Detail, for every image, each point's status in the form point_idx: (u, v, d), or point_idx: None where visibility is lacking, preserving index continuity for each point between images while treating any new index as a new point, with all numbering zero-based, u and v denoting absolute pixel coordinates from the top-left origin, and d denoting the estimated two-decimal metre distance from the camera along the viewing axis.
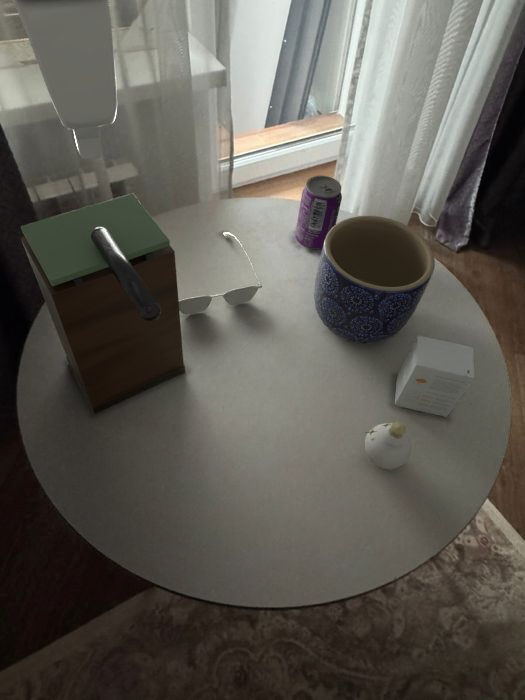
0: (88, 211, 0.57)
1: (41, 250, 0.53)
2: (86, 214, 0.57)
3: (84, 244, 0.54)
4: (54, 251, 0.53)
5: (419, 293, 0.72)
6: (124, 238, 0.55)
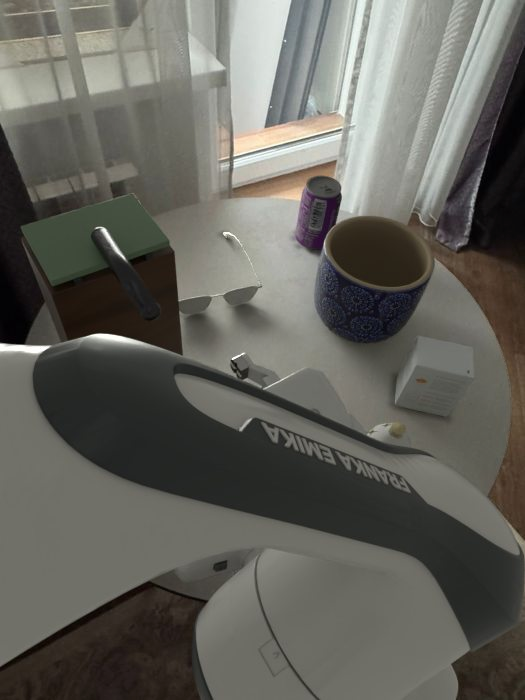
0: (88, 211, 0.57)
1: (41, 250, 0.53)
2: (86, 214, 0.57)
3: (84, 244, 0.54)
4: (54, 251, 0.53)
5: (419, 293, 0.72)
6: (124, 238, 0.55)
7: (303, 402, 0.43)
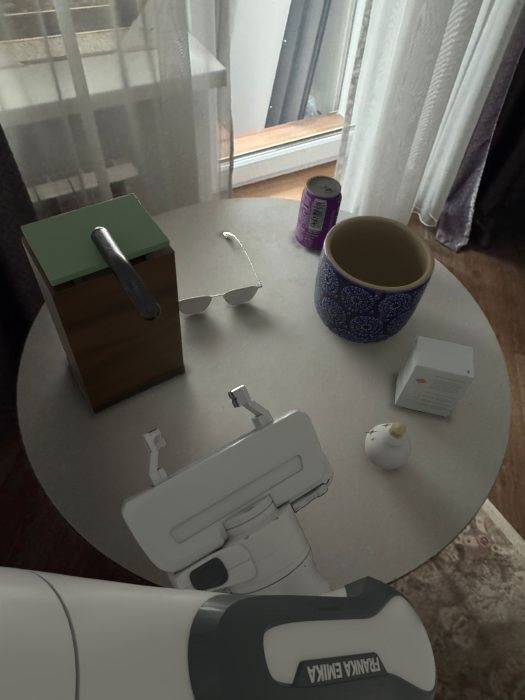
0: (88, 211, 0.57)
1: (41, 250, 0.53)
2: (86, 214, 0.57)
3: (84, 244, 0.54)
4: (54, 251, 0.53)
5: (419, 293, 0.72)
6: (124, 238, 0.55)
7: (290, 448, 0.50)
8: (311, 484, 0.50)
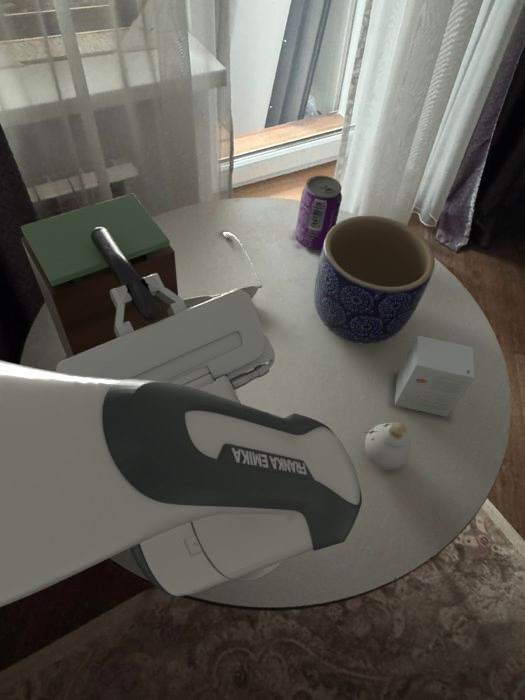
0: (88, 211, 0.57)
1: (41, 250, 0.53)
2: (86, 214, 0.57)
3: (84, 244, 0.54)
4: (54, 251, 0.53)
5: (419, 293, 0.72)
6: (124, 238, 0.55)
7: (229, 324, 0.50)
8: (250, 360, 0.50)
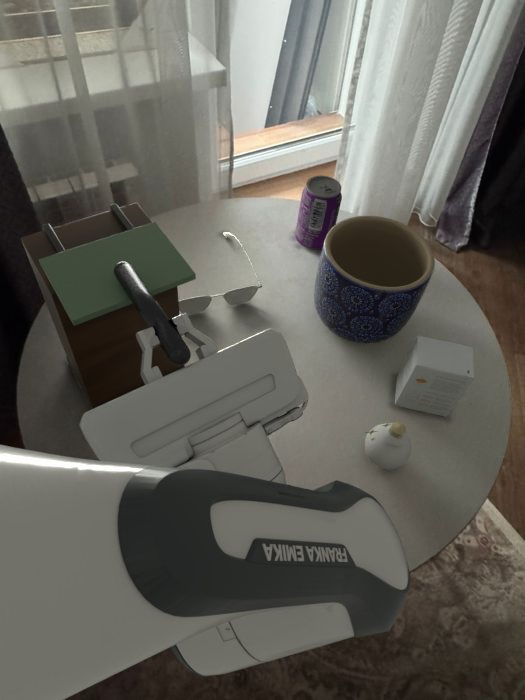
0: (109, 242, 0.55)
1: (61, 286, 0.50)
2: (107, 245, 0.54)
3: (106, 279, 0.51)
4: (75, 287, 0.50)
5: (419, 293, 0.72)
6: (148, 272, 0.52)
7: (262, 366, 0.47)
8: (284, 405, 0.47)
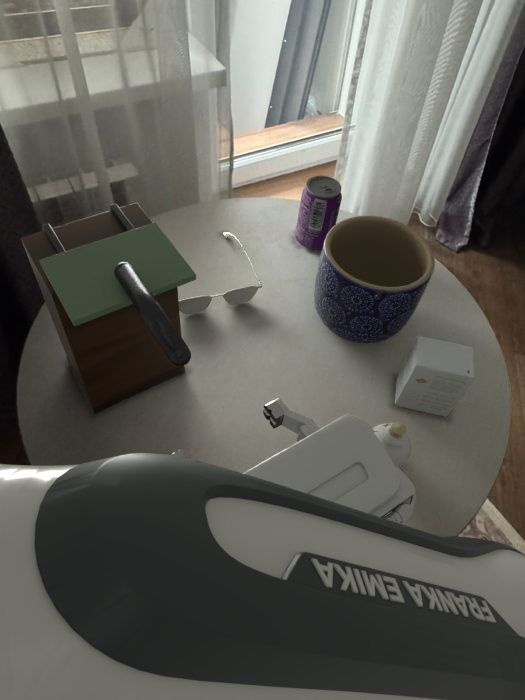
0: (109, 242, 0.55)
1: (61, 286, 0.50)
2: (107, 245, 0.54)
3: (106, 279, 0.51)
4: (75, 287, 0.50)
5: (419, 293, 0.72)
6: (149, 273, 0.52)
7: (346, 454, 0.39)
8: (384, 496, 0.38)
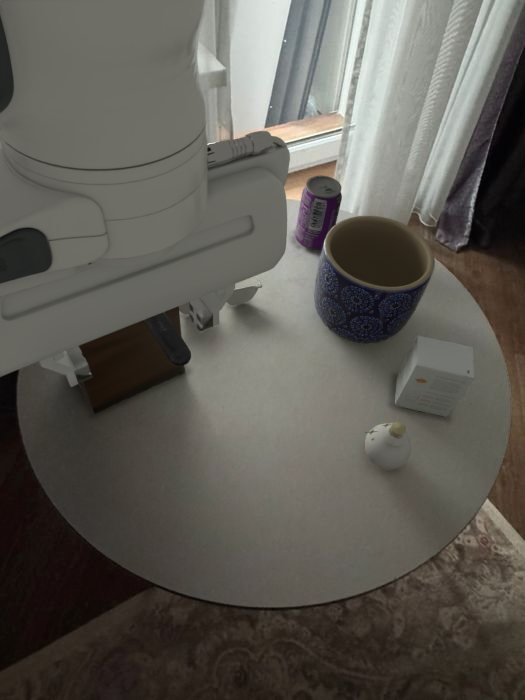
0: None
1: None
2: None
3: None
4: None
5: (419, 293, 0.72)
6: None
7: None
8: None
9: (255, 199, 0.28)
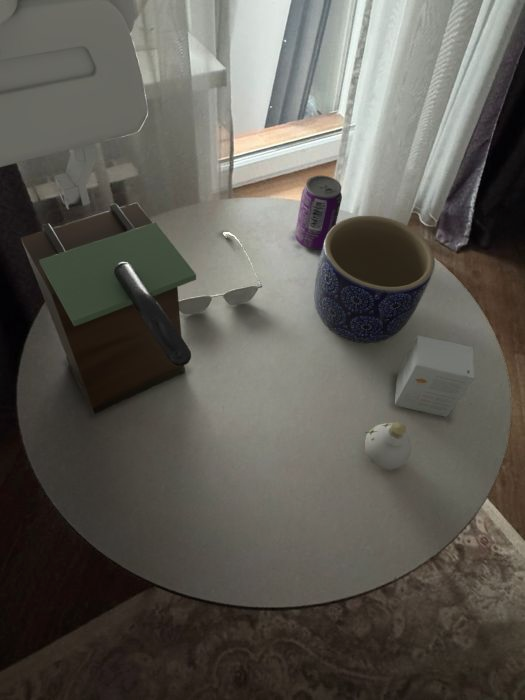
0: (109, 242, 0.55)
1: (61, 286, 0.50)
2: (107, 245, 0.54)
3: (106, 279, 0.51)
4: (75, 287, 0.50)
5: (419, 293, 0.72)
6: (149, 273, 0.52)
7: None
8: None
9: (85, 25, 0.25)
